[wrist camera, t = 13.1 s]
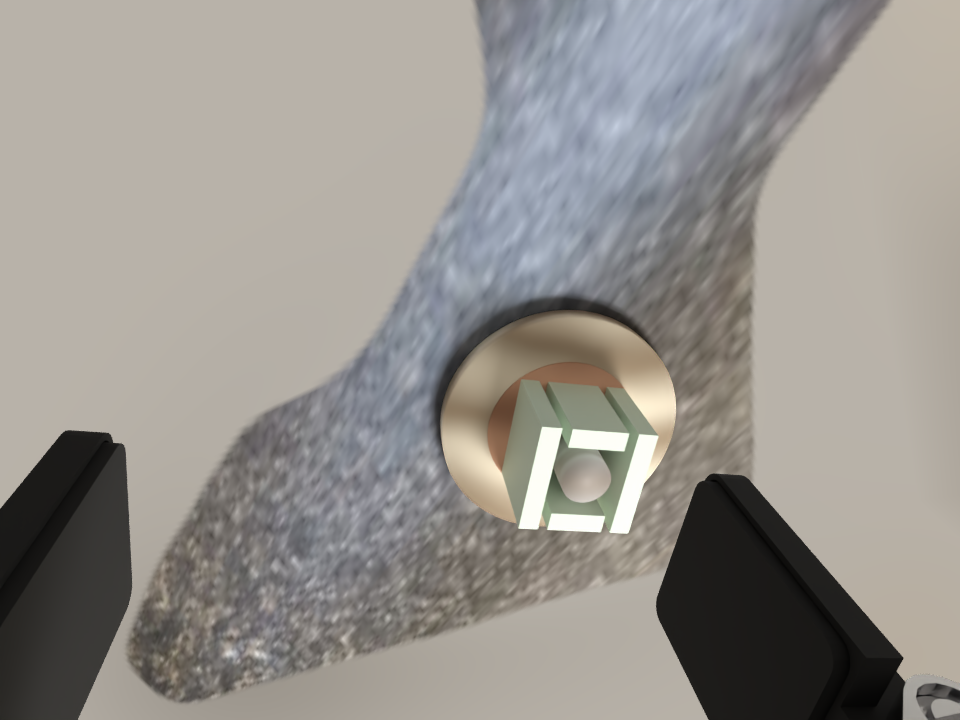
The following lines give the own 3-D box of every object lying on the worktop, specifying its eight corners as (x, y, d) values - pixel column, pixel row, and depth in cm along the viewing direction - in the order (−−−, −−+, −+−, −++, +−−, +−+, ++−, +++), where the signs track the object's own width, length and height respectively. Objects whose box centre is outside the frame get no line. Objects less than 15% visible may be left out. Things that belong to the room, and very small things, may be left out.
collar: (521, 379, 43) (542, 426, 37) (624, 388, 44) (658, 435, 39) (501, 471, 45) (518, 528, 40) (599, 477, 47) (627, 533, 41)
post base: (459, 296, 42) (475, 344, 35) (695, 323, 45) (752, 372, 38) (425, 507, 48) (433, 582, 41) (634, 518, 51) (673, 589, 44)
